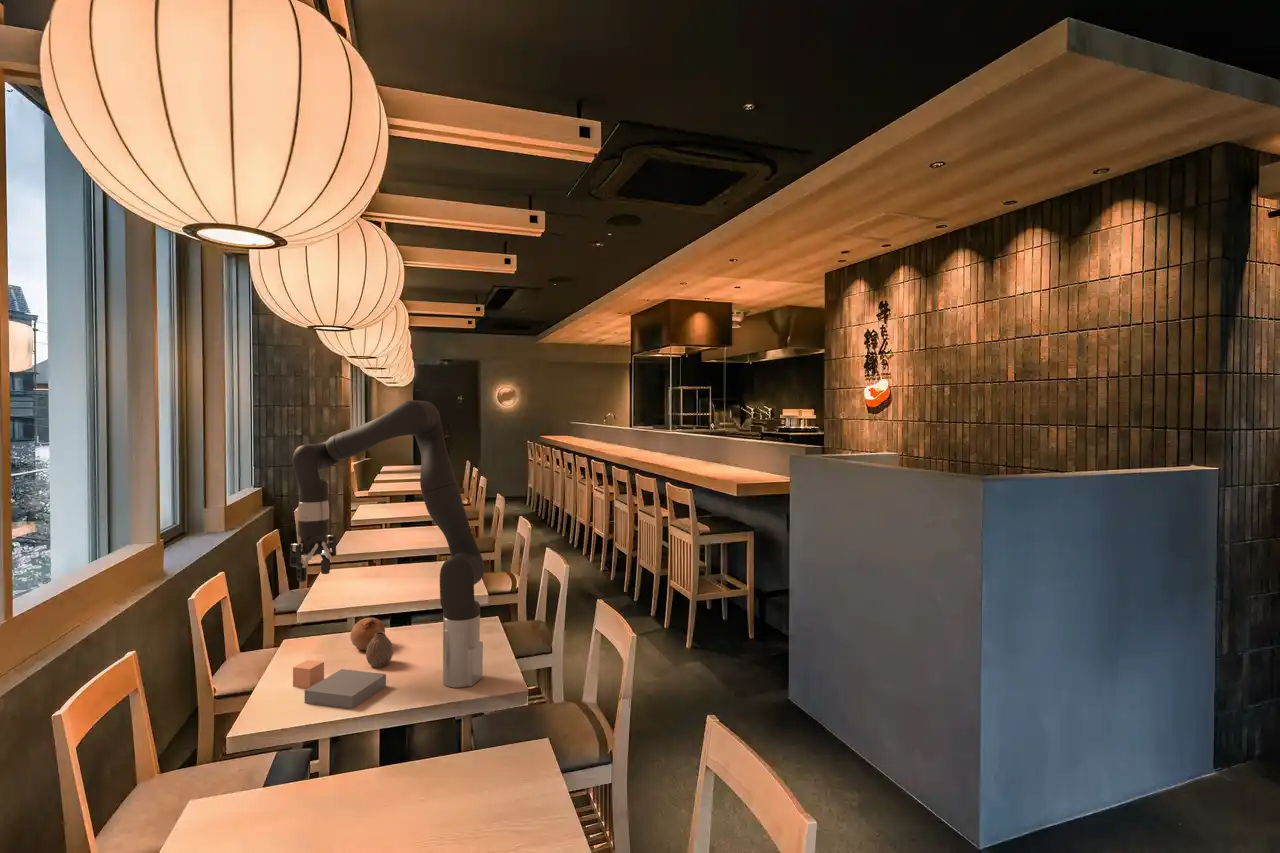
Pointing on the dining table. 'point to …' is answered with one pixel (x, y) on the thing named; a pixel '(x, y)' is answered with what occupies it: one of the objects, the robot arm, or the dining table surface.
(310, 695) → the block
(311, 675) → the block
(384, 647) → the vase
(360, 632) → the brown round piece
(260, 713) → the dining table surface
